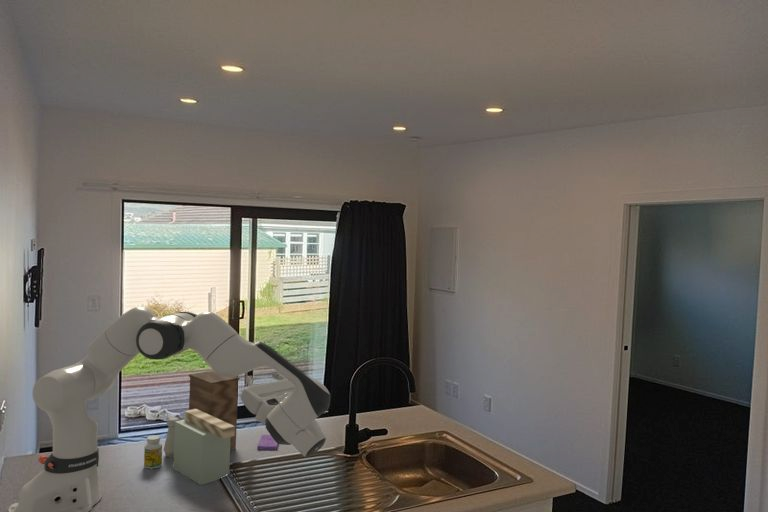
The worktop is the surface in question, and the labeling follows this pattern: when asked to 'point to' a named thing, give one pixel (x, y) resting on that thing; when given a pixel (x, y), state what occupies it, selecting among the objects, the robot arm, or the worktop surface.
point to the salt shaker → (170, 437)
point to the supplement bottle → (153, 452)
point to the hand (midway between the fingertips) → (261, 375)
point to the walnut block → (215, 397)
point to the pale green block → (200, 453)
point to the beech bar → (210, 423)
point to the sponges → (267, 443)
